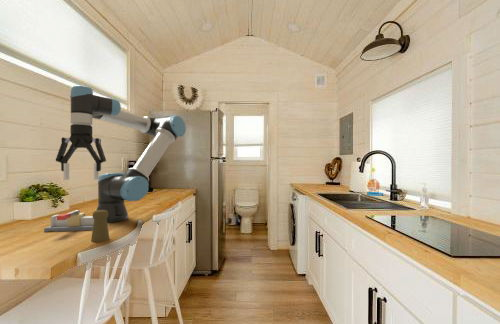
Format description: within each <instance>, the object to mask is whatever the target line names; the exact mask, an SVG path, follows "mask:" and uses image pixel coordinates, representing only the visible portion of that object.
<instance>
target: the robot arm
mask: <svg viewBox="0 0 500 324" xmlns="http://www.w3.org/2000/svg"><path fill="white" fill-rule="evenodd" d="M69 98H70V124H71V125H70V136H69V137H61V143H60V147H59V149H58V152H57V154H56V157H55V162H58V163H60V164H61V166H60V167H61V169H60V170H61V172H63V181H64V180H70V163H68V162H69V160H70V159H71V157H72V156H73V154H74V153H75V151H76V150H77V149H83V148H84V149H86V150H87V151H88V152H89V154H90V155H91V157H92V159H93V160H94V163H93V180H96V181H97V186H98V189H97V190H98V193H97V197H98V199H97V200H98V204H97V207H96V210H95V211H97V210H106V211H108V217H107V223H116V222H123V221H124V220H125V221H126V220H128V218H129V212H128V210H127V207H126V204H125V202H126V201H128V202H137V201H140V200H142V199H143V198H145V197H146V196H147V194H148V192H149V189H150V188H149V186H150V185H149V182H150V178H149V176H150V175H151V174H152V171H153V170H154V168H155V167H156V165H157V164H158V163H159V161H160V160H161V158H162V157H163V155H164V153H165V152H166V150H167V148H168V147H169V146H170V144H173V143H175V142H176V140H177V138H178V137H180V138H181V137H183V136H184V135H185V134H186V130H187V129H186V128H187V127H186V123H185V120H184V118H182V117H181V116H179V115H173V114H172V115H168V116H161V117H160V116H157V117H149V116H147V115H146V116H145V115H144V116H140V115H138V114H134V113H131V112H129V111H126V110H121V108H122V107H121V106H122V105H121V103H120V101H119V100H118V99H115V98H112V97H107V96H102V95H97V94H94V91H93V89H92V87H89V86H85V85H73V86H71V89H70V96H69ZM93 119H95V120H100V121H103V122H108V123H111V124H116V125H119V126H123V127H125V128H130V129H133V130H138V131H139V132H140V133H142V134H146V135H150V136H153V138H152V139H151V140H150V143H149V144H148V145H147V147H146V148H145V150H144V151H143V152H142V154H141V155H140V157H139V158H138V159H137V160H136V163H134V165H133V167H130V168H129V167H128V168H127V169H126V171H124V172H110V173H103V174H99V172H101V170H102V163H105V162H107V159H106V156H105V155H106V154H105V153H104V150H103V147H102V144H101V142H102V139H101V138H99V137H93V126H92V125H93ZM69 143H71V144H70V146H69V148H68V150H67V147H68V145H69ZM92 143H94V144H95V148H96V150H97V152H96V151H95V149H94V147H93V146H92ZM66 150H67V151H66ZM97 153H98V154H97Z"/></svg>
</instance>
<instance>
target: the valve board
mask: <svg viewBox="0 0 500 324" xmlns="http://www.w3.org/2000/svg"><path fill="white" fill-rule="evenodd" d="M58 215H59V214H54V215H52V216H51V217H50V225H48V226H45V227H44V228H43V232H44V233H47V232H48V231H56V232H79V231H80V232H81V231H82V232H84V231H93V225H94V219H93V215H92V216H91V215H89V216H88V215H87V216H86V212H80V213H79V214H75V215H73V216H71V217H70V218H68V219H65V220H57V216H58ZM48 233H49V232H48Z"/></svg>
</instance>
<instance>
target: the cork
mask: <svg viewBox="0 0 500 324" xmlns="http://www.w3.org/2000/svg"><path fill="white" fill-rule="evenodd" d="M96 210H97V209H96ZM96 210H95V211H93V213H92V216H93V219H94V225H93V230H91V232H92V233H91V238H90V239H91V240H90V241H91V242H93V243H101V242H107V241H109V240H110V234H109V226H108V222H107V217H108V211H106V210H97V211H96Z"/></svg>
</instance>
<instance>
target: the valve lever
mask: <svg viewBox="0 0 500 324" xmlns="http://www.w3.org/2000/svg"><path fill="white" fill-rule="evenodd" d="M79 213H81V210H80V209H77V210H72V211H70V212H67V213H61V214H57V215H58V216H57V220H65V219H68V218H70V217H71V216H73V215H75V214H79Z"/></svg>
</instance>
